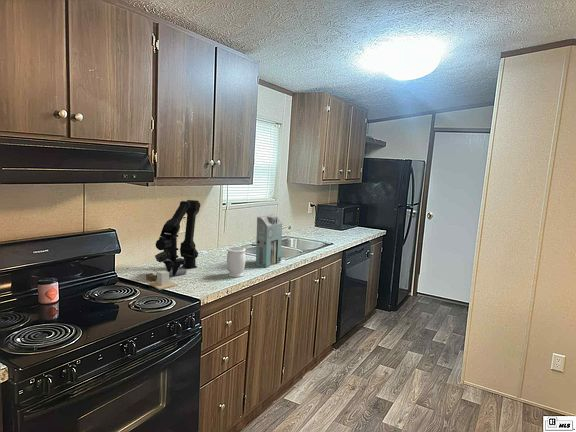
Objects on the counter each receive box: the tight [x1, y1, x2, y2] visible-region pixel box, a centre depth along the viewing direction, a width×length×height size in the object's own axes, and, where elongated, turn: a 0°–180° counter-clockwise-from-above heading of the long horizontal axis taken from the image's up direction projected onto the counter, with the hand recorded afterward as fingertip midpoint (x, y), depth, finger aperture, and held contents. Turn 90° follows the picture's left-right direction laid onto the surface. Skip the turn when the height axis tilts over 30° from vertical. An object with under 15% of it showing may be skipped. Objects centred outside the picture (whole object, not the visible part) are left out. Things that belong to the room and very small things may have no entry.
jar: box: [226, 246, 247, 278], centre depth 222 cm, size 11×10×15 cm
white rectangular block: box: [156, 270, 170, 285], centre depth 202 cm, size 4×5×6 cm
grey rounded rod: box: [155, 268, 187, 280], centre depth 216 cm, size 18×3×3 cm, turn 135°
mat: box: [147, 279, 179, 291], centre depth 202 cm, size 10×12×1 cm
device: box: [255, 213, 283, 269], centre depth 246 cm, size 16×8×30 cm, turn 148°
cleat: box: [145, 272, 157, 282], centre depth 208 cm, size 3×5×3 cm, turn 44°
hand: (171, 274), depth 216 cm, fingers open, 5 cm apart
